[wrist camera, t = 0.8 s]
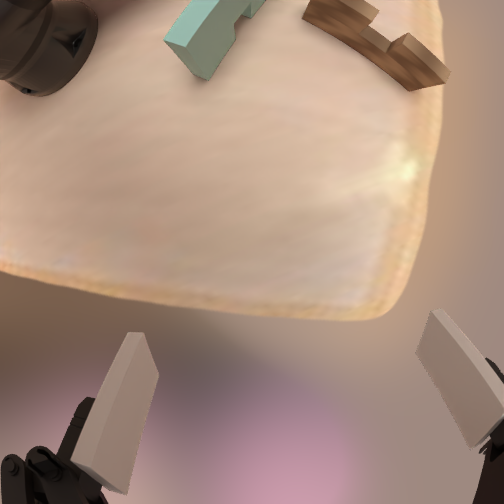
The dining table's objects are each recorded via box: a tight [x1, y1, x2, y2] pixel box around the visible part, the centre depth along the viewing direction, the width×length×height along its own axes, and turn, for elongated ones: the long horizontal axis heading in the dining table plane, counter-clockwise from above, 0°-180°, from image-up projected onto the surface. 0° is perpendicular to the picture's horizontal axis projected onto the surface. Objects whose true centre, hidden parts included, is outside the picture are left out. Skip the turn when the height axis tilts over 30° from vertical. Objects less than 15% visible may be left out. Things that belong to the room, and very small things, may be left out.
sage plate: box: [163, 0, 266, 81], centre depth 18 cm, size 16×2×12 cm, turn 151°
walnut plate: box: [302, 0, 450, 91], centre depth 20 cm, size 16×2×8 cm, turn 61°
